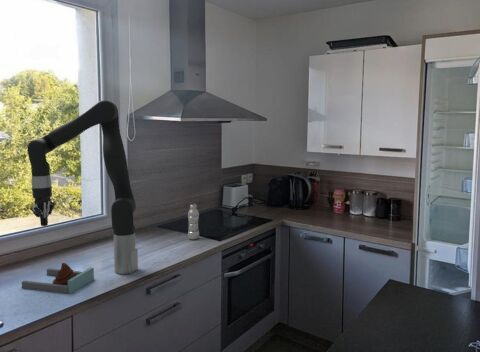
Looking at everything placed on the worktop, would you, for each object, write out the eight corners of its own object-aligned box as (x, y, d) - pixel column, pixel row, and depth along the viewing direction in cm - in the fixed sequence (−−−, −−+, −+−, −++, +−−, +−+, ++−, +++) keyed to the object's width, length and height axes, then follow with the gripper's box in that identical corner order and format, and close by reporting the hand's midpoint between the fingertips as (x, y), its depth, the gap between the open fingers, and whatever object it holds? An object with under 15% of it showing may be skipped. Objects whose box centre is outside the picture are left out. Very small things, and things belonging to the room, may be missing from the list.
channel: (94, 278, 174) (94, 267, 174) (70, 293, 159) (70, 281, 158) (49, 273, 180) (48, 262, 179) (21, 287, 164) (21, 275, 164)
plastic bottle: (188, 241, 230) (188, 206, 228) (187, 237, 237) (186, 203, 234) (200, 240, 232) (200, 205, 229) (198, 237, 238) (197, 203, 236)
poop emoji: (49, 289, 163) (48, 266, 162) (56, 281, 172) (55, 259, 170) (75, 288, 164) (74, 266, 163) (81, 280, 173) (80, 259, 171)
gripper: (38, 188, 168) (41, 230, 170) (59, 184, 180) (62, 222, 183) (22, 188, 169) (25, 229, 172) (44, 183, 182) (47, 221, 184)
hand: (44, 225), depth 177 cm, fingers closed
